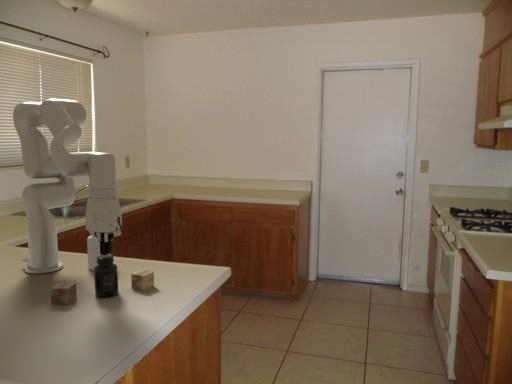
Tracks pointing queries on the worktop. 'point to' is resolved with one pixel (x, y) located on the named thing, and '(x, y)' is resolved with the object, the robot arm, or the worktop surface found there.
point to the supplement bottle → (106, 277)
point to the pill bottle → (93, 251)
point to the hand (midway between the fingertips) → (106, 253)
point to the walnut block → (63, 293)
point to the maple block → (142, 279)
